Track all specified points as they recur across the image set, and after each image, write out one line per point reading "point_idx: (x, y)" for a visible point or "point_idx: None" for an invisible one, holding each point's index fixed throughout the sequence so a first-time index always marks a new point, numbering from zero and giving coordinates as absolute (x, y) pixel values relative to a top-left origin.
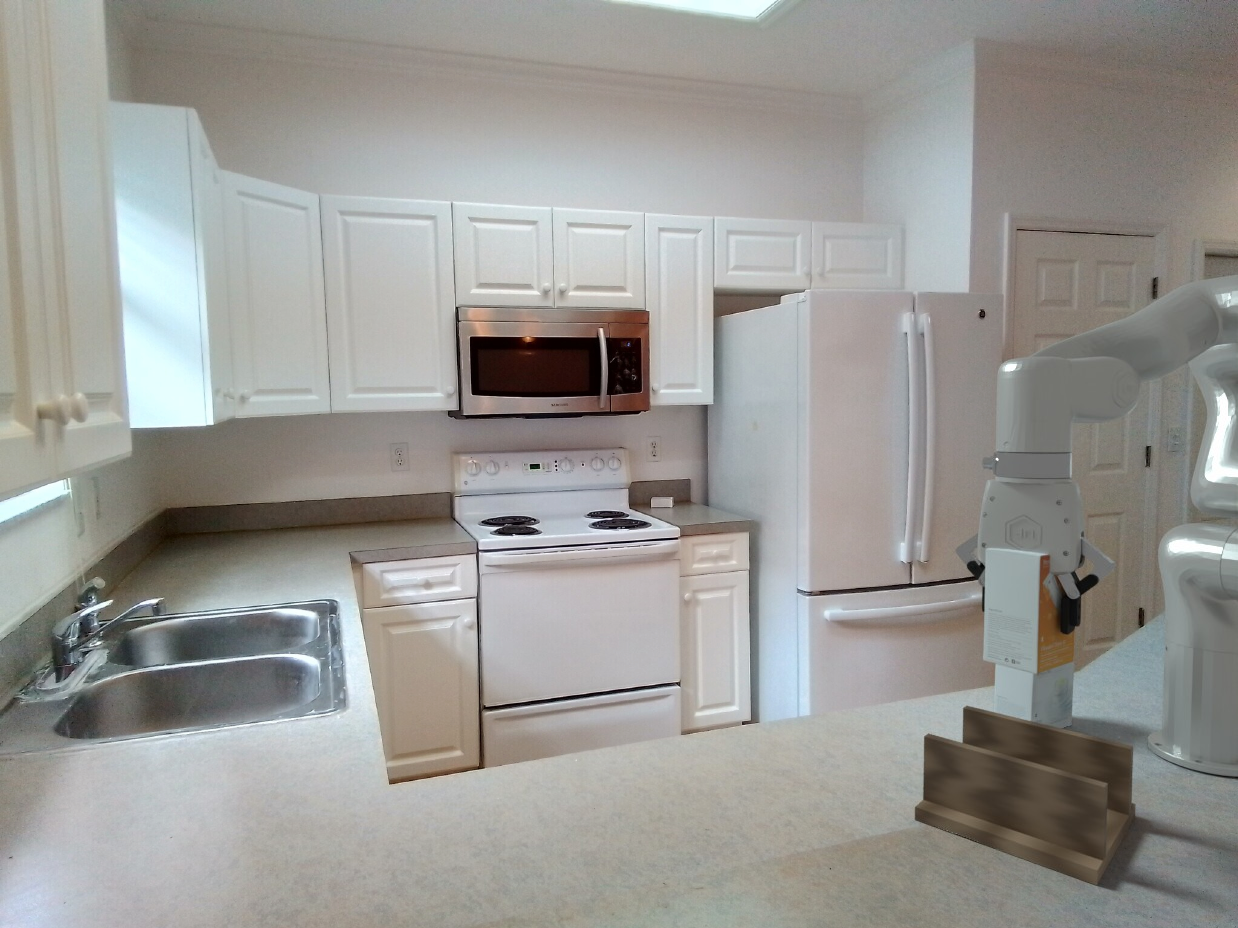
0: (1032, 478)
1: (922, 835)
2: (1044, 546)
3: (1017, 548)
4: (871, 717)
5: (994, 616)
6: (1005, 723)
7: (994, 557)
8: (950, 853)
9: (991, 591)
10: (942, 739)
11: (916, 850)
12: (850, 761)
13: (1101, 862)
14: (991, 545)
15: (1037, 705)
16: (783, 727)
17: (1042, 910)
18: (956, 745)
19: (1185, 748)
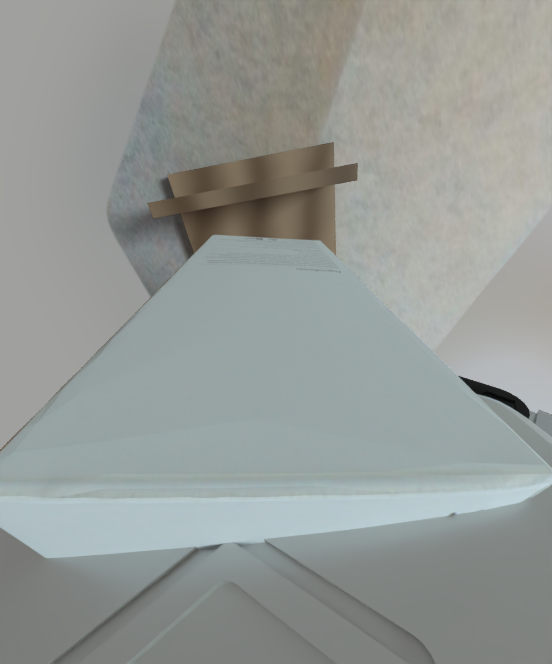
0: None
1: (310, 115)
2: (18, 662)
3: (281, 562)
4: (440, 318)
5: (317, 265)
6: None
7: (424, 409)
8: (274, 103)
9: (351, 294)
10: (334, 175)
11: (299, 71)
12: (429, 213)
13: (174, 194)
14: (533, 540)
15: None
16: (520, 227)
17: (166, 71)
18: (313, 171)
19: None
